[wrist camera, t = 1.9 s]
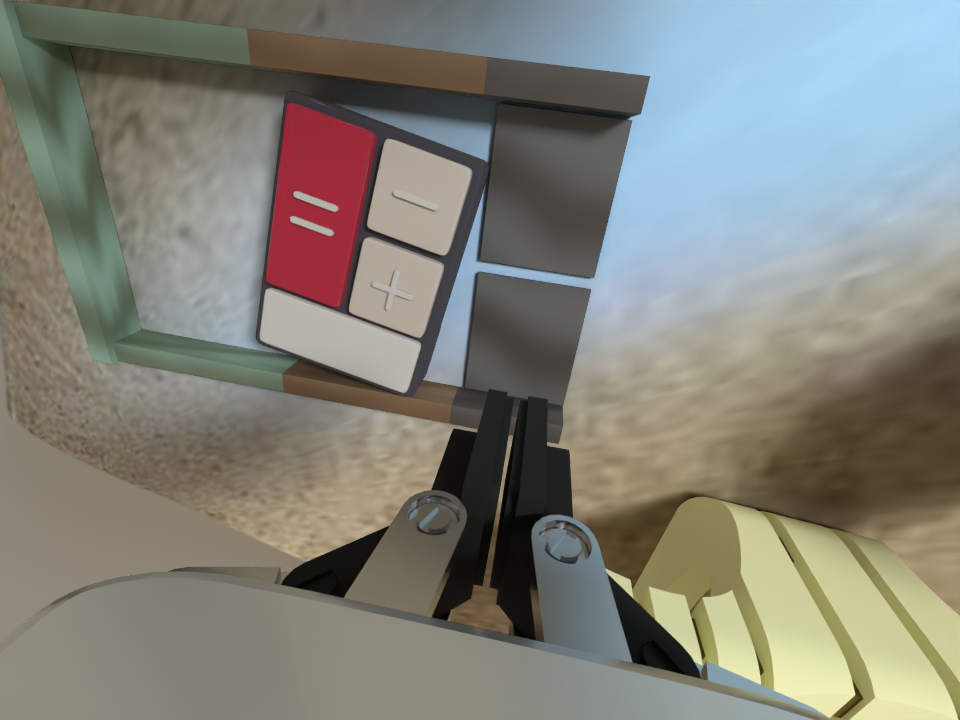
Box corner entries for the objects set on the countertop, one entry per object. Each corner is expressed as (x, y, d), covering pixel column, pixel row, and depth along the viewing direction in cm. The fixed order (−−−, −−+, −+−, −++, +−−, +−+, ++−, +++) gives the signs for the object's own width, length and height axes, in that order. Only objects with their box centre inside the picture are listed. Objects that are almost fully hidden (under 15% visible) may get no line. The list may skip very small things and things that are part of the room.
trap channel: (36, 10, 25) (-26, -6, 22) (640, 82, 22) (652, 74, 20) (128, 343, 35) (92, 360, 32) (558, 422, 32) (558, 448, 29)
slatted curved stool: (1003, 549, 31) (1468, 973, 15) (868, 672, 38) (1087, 1043, 23) (583, 444, 32) (609, 731, 17) (530, 581, 40) (514, 871, 24)
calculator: (484, 162, 22) (409, 406, 28) (493, 163, 26) (425, 377, 32) (276, 84, 22) (246, 346, 28) (316, 97, 26) (283, 325, 32)
